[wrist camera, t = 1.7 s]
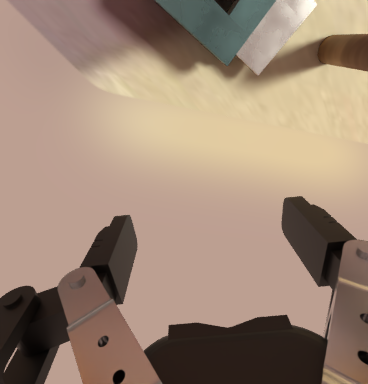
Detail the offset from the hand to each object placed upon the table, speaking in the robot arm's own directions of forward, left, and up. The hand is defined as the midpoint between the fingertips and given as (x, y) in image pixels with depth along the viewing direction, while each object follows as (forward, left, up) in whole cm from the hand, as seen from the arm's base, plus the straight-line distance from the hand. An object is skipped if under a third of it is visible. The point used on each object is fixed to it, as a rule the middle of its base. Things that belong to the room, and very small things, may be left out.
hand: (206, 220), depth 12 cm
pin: (-15, +9, -24) cm, 30 cm away
